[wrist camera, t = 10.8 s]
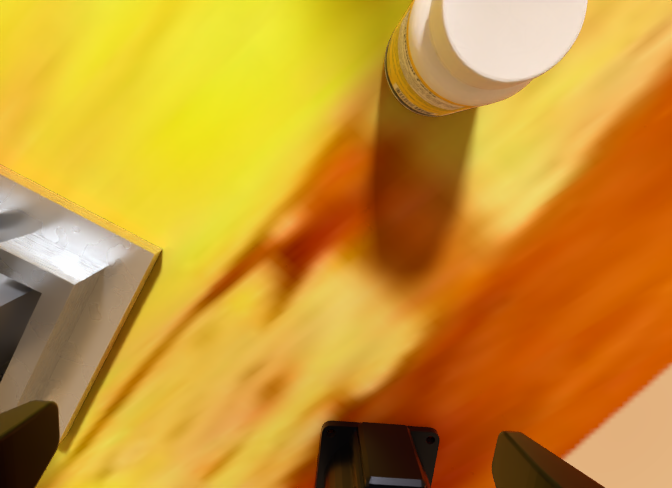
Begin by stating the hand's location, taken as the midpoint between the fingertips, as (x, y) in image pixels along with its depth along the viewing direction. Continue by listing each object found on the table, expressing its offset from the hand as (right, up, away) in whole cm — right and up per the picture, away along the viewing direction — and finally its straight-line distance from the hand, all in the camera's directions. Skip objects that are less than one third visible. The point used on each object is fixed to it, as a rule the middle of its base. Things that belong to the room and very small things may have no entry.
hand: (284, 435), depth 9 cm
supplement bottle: (+6, +12, +11) cm, 17 cm away
